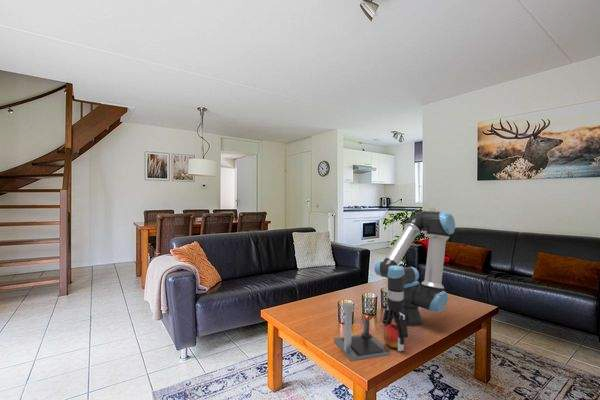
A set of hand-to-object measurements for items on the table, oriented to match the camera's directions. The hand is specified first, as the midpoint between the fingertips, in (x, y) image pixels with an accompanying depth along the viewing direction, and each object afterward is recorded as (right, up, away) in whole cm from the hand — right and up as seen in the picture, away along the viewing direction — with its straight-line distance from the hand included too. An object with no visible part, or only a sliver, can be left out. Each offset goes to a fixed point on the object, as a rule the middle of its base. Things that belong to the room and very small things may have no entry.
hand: (394, 345), depth 142 cm
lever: (-12, +2, +6) cm, 13 cm away
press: (-16, 0, -2) cm, 16 cm away
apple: (0, -1, 0) cm, 1 cm away
